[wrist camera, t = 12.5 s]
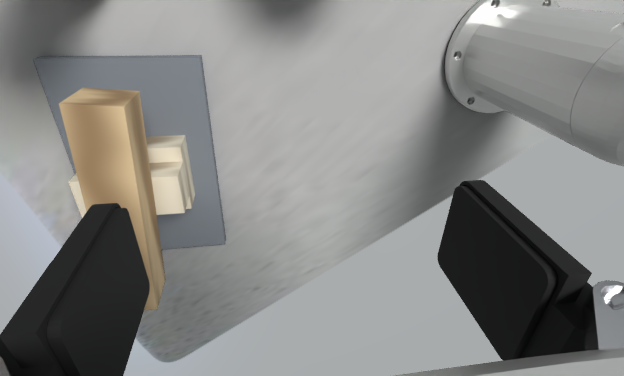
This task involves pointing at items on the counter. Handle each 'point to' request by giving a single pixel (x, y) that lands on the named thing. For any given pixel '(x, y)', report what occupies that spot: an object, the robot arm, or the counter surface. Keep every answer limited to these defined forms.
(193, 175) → the slate board
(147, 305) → the oak bar
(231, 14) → the counter surface
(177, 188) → the stepped block
